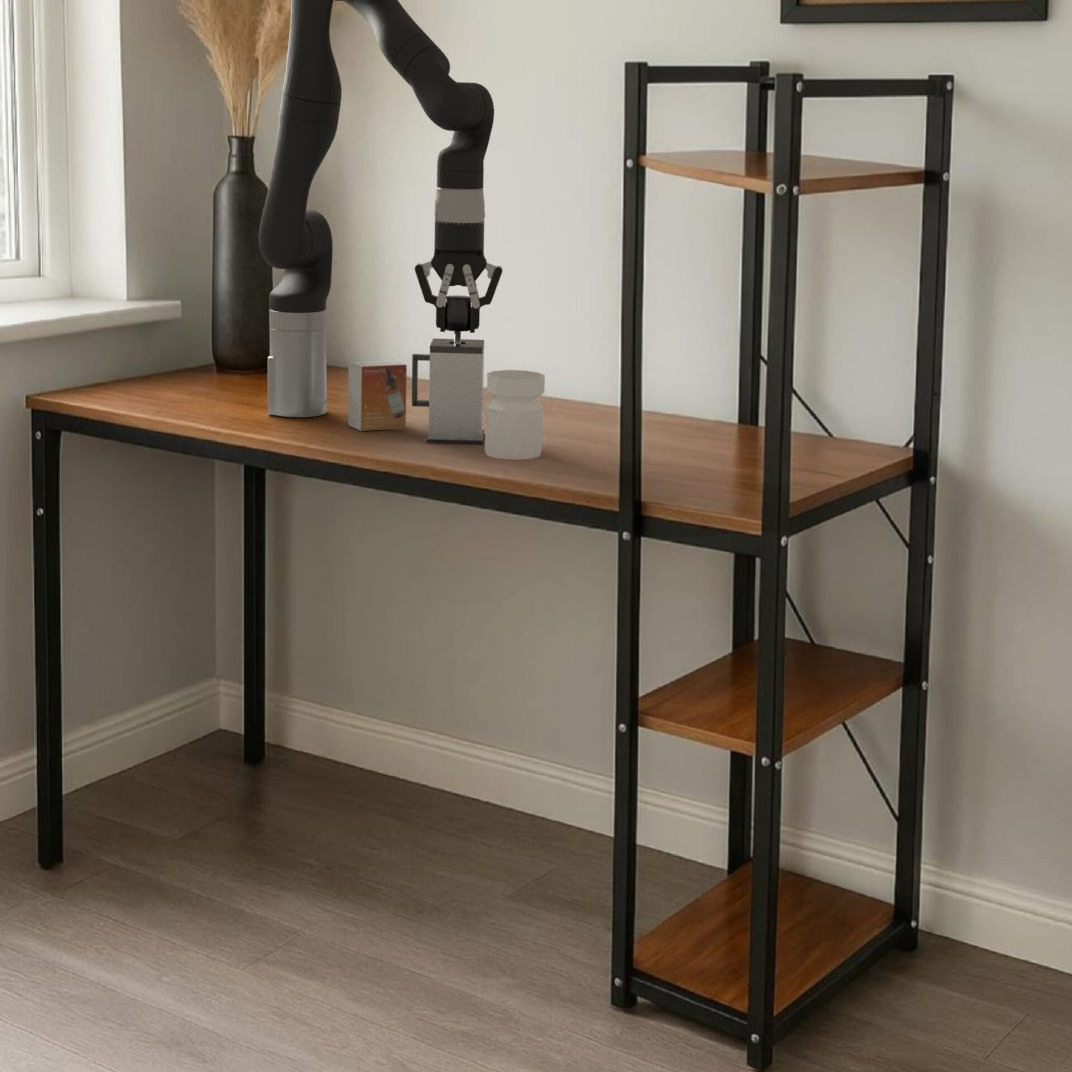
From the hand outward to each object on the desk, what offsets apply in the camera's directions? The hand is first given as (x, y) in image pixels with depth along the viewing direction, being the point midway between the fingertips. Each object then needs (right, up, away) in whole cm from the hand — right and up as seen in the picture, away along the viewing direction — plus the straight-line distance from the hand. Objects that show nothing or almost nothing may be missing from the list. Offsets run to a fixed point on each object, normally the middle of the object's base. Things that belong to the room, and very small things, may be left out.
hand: (457, 331), depth 259 cm
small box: (-14, -14, +11) cm, 23 cm away
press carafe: (-2, -16, +4) cm, 17 cm away
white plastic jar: (+9, -19, -5) cm, 22 cm away
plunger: (0, -15, +4) cm, 16 cm away
